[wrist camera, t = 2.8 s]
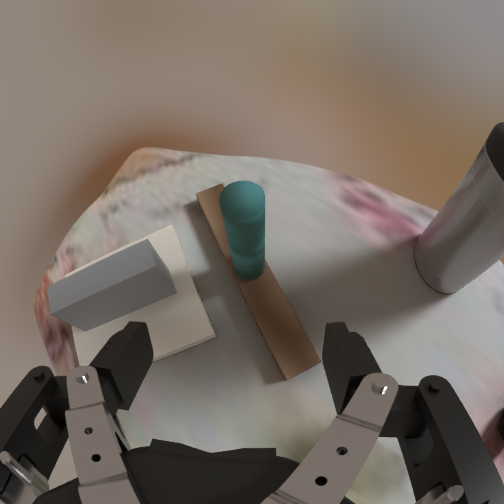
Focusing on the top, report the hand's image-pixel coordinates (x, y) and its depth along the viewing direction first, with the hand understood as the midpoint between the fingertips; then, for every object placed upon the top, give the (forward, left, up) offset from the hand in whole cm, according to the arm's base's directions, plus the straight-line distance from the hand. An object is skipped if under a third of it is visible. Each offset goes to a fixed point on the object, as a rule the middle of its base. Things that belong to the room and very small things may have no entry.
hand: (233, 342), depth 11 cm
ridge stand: (+10, -11, -16) cm, 22 cm away
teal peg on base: (-4, -9, -16) cm, 19 cm away
